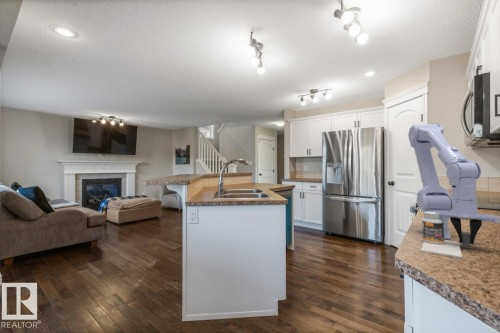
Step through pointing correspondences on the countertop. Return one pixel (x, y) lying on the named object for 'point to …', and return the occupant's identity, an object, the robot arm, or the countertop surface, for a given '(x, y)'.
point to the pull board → (448, 247)
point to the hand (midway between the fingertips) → (466, 242)
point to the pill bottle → (433, 228)
